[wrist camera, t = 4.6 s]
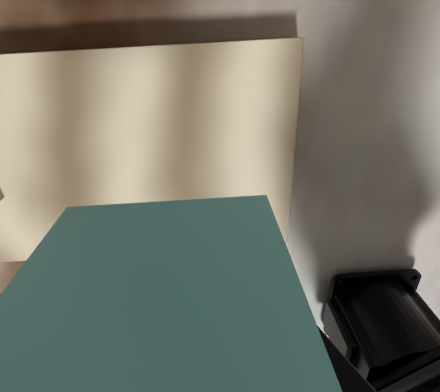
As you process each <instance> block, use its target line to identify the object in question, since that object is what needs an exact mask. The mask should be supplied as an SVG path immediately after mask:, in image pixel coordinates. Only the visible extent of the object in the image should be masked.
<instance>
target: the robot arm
mask: <svg viewBox="0 0 440 392" xmlns="http://www.w3.org/2000/svg"><path fill="white" fill-rule="evenodd" d="M420 279H421V274H420V273H419V272H418V271H417V270H416V269H406V270H392V271H378V272H364V273H350V274H338V275H336V276H334V277H333V279H332V284H331V289H330V295H329V299H328V300H327V301H326V305H325V311H324V317H323V324H324V332H325V334H326V335H328V337H329V338H328V337H327V336H326V335H325V334H324V333H323V332H322V330H321V329H320V328H319V327H318V326H317V327H318V330H319V332H320V335H321V337H322V340H323V343H324V345H325V348H326V350H327V353H328V356H329V358H330V361H331V363H332V366H333V369H334V371H335V374H336V376H337V379H338V382H339V384H340V387H341V389H342V392H440V320H439V319H438V317H437V316H436V315H435V314H434V313H433V311H432V310H431V309H430V308H429V306H428V305H427V304H426V303H425V302H424V300H423V299H422V298H421V297H420V295H419V294H418V293H417V292H416V289H417V287H418V284H419V281H420Z"/></svg>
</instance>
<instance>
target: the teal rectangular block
mask: <svg viewBox="0 0 440 392" xmlns="http://www.w3.org/2000/svg"><path fill="white" fill-rule="evenodd" d="M0 392H342V389H341V387H340V384H339V382H338V379H337V376H336V374H335V371H334V369H333V366H332V363H331V361H330V358H329V356H328V353H327V350H326V348H325V345H324V343H323V340H322V337H321V335H320V332H319V330H318V327H317V325H316V322H315V319H314V317H313V314H312V312H311V309H310V306H309V304H308V301H307V299H306V296H305V293H304V291H303V288H302V286H301V283H300V280H299V278H298V275H297V273H296V270H295V267H294V265H293V262H292V260H291V257H290V254H289V252H288V249H287V247H286V244H285V241H284V239H283V236H282V234H281V231H280V228H279V226H278V223H277V221H276V218H275V215H274V213H273V210H272V208H271V205H270V202H269V200H268V197H267V195H255V196H239V197H222V198H206V199H189V200H173V201H157V202H140V203H124V204H107V205H91V206H75V207H67V208H66V209H65V210H64V212H63V213H62V214H61V216H60V217H59V218H58V219H57V221H56V222H55V223H54V225H53V226H52V227H51V229H50V230H49V231H48V233H47V234H46V235H45V237H44V238H43V239H42V241H41V242H40V243H39V244H38V246H37V247H36V248H35V250H34V251H33V252H32V254H31V255H30V256H29V258H28V259H27V260H26V262H25V263H24V264H23V265H22V267H21V268H20V269H19V271H18V272H17V273H16V275H15V276H14V277H13V279H12V280H11V281H10V283H9V284H8V285H7V287H6V288H5V289H4V290H3V292H2V293H1V294H0Z"/></svg>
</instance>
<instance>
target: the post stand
mask: <svg viewBox="0 0 440 392" xmlns="http://www.w3.org/2000/svg"><path fill="white" fill-rule="evenodd" d="M303 43H304V38H301V37H294V38H276V39H258V40H241V41H223V42H205V43H187V44H169V45H151V46H133V47H115V48H97V49H79V50H61V51H43V52H26V53H8V54H0V262H10V261H24V260H27V259H28V258H29V256H30V255H31V254H32V252H33V251H34V250H35V248H36V247H37V246H38V244H39V243H40V242H41V241H42V239H43V238H44V237H45V235H46V234H47V233H48V231H49V230H50V229H51V227H52V226H53V225H54V223H55V222H56V221H57V219H58V218H59V217H60V216H61V214H62V213H63V212H64V210H65V209H66V208H67V207H75V206H91V205H107V204H124V203H140V202H157V201H173V200H189V199H206V198H222V197H239V196H255V195H267V197H268V200H269V202H270V205H271V208H272V210H273V213H274V215H275V218H276V221H277V223H278V226H279V228H280V231H281V234H282V236H283V239H284V241H285V243H286V242H288V235H289V222H290V209H291V196H292V184H293V171H294V158H295V145H296V133H297V120H298V107H299V94H300V82H301V69H302V56H303Z"/></svg>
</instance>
